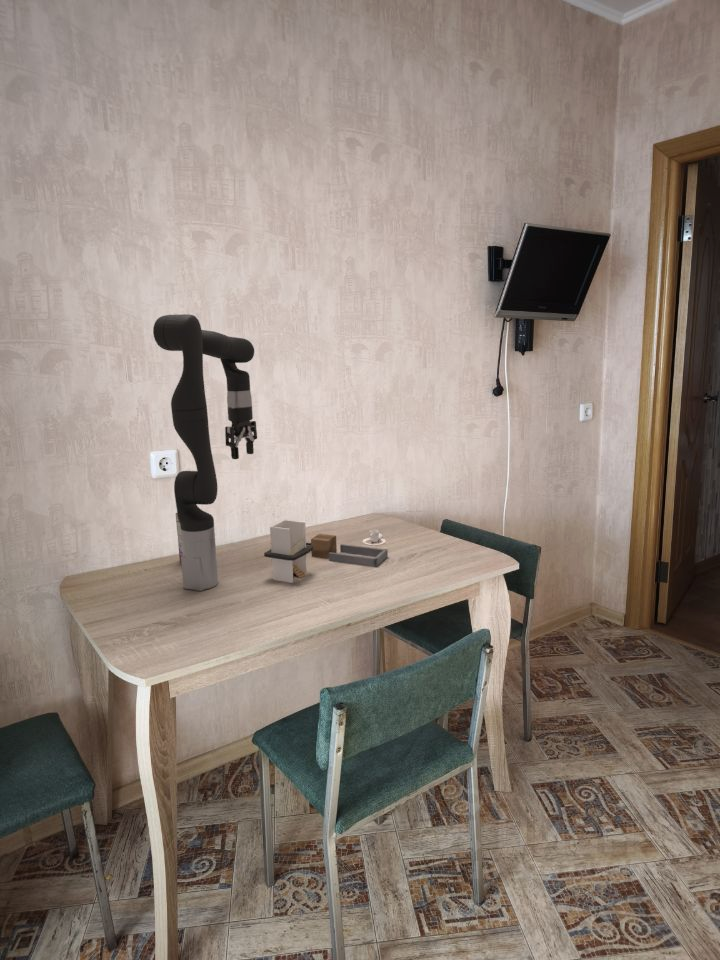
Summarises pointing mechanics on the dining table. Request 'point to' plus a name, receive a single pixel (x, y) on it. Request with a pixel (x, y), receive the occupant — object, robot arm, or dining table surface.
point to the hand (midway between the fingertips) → (242, 456)
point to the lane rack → (359, 560)
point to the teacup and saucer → (374, 538)
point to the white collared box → (288, 550)
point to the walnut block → (323, 545)
